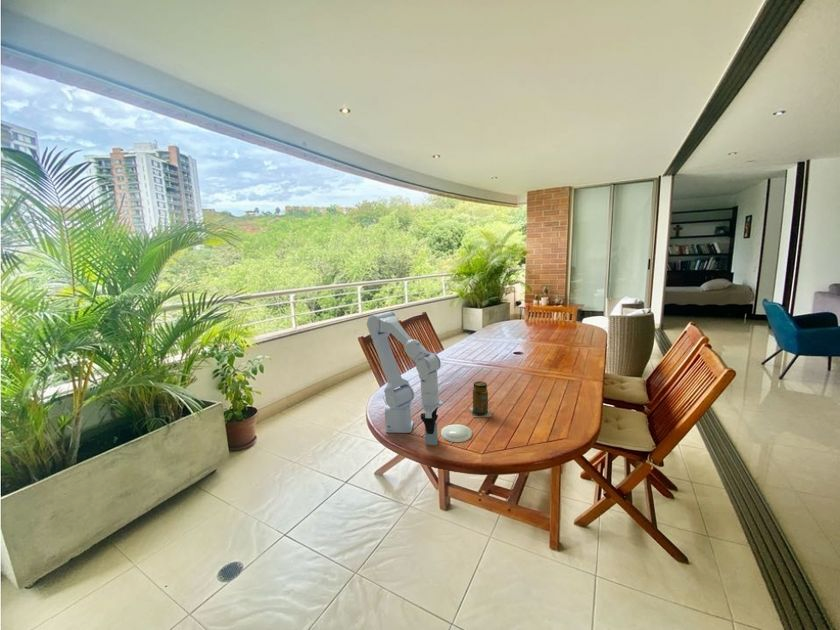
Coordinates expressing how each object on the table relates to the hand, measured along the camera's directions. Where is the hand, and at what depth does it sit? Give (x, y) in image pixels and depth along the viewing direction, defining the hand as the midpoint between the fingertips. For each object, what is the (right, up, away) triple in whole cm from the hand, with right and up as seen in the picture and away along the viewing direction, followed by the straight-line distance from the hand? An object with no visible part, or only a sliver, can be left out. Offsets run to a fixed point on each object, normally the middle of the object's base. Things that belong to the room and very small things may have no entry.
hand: (431, 427), depth 116 cm
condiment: (+21, -1, +20) cm, 29 cm away
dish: (+9, -4, +6) cm, 12 cm away
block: (0, -5, +1) cm, 5 cm away
